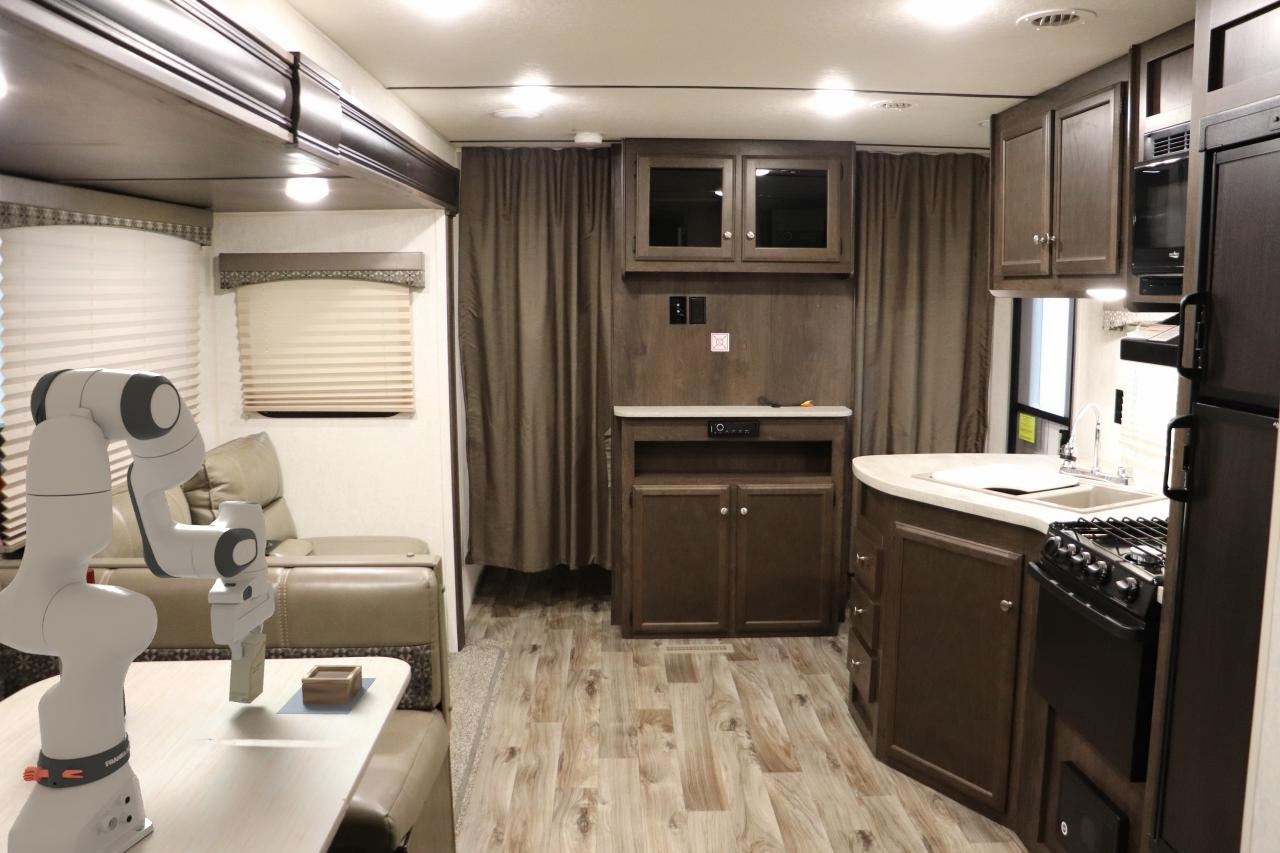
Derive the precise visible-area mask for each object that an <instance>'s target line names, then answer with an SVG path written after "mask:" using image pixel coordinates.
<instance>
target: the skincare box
mask: <svg viewBox="0 0 1280 853" xmlns="http://www.w3.org/2000/svg"><path fill="white" fill-rule="evenodd" d="M266 644H267V634H266V633H262V634H261V633H254V632H251V631H250V632H249V633H247V634H246V635H245V636H243V637H242V642H241V646H242V649H244V654H245V656H244V657H243V658H242V659H240V660H233V658H232V657H231V658H230V659H231V660H230V675H229V678H230V679H229V691H228V692H229V694H228V702H233V703H240V704H248V705H249V704H250V705H251V703H253V702H254V701H255V700H256V699H257V698H258V697H259V696H260V695H262V694H263V692H264V679H265V677H264V676H265V664H266V663H265V660H266V646H267V645H266Z"/></svg>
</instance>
